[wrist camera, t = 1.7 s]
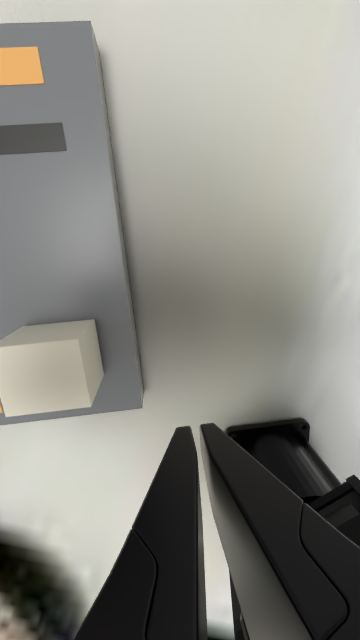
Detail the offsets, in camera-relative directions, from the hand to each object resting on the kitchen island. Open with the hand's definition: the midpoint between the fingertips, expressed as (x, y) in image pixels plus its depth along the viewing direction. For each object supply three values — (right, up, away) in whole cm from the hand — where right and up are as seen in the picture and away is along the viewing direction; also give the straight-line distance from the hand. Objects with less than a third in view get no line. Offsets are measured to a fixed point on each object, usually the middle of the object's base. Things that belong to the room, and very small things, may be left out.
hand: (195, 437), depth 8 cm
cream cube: (-7, +2, +8) cm, 11 cm away
